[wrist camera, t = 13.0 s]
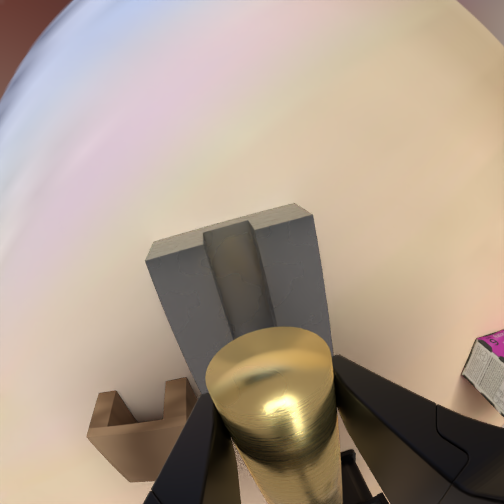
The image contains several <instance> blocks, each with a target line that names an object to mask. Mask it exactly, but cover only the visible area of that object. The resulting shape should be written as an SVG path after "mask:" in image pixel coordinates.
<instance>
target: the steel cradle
mask: <svg viewBox="0 0 504 504" xmlns="http://www.w3.org/2000/svg"><path fill="white" fill-rule="evenodd" d="M145 262H146V265H147V268H148V270H149V273H150V276H151V278H152V281H153V284H154V286H155V289H156V291H157V294H158V296H159V299H160V301H161V304H162V306H163V309H164V311H165V314H166V316H167V319H168V321H169V323H170V326H171V328H172V331H173V333H174V335H175V338H176V340H177V342H178V344H179V347H180V349H181V351H182V353H183V356H184V358H185V360H186V362H187V364H188V367H189V369H190V371H191V373H192V375H193V377H194V379H195V382H196V384H197V386H198V388H199V390H200V392H201V394H204V393H209V391H208V389H207V386H206V381H205V376H206V371H207V368H208V365H209V363H210V361H211V360H212V358H213V357H214V356H215V355H216V354H217V352H218V351H220V350H221V349H222V348H223V347H224V346H225V345H227V344H228V343H230V342H231V341H233V340H235V339H236V338H238V337H240V336H243V335H245V334H247V333H250V332H253V331H256V330H260V329H265V328H271V327H297V328H302V329H305V330H308V331H311V332H313V333H315V334H317V335H318V336H320V337H321V338H322V339H323V340H324V341H325V342H326V343H327V345H328V347H329V349H330V352H331V357H332V356H333V348H332V339H331V331H330V323H329V315H328V308H327V300H326V293H325V286H324V279H323V273H322V266H321V260H320V254H319V247H318V241H317V236H316V230H315V224H314V218H313V214H311V213H309V212H308V211H306V210H305V209H303V208H302V207H300V206H298V205H297V204H295V203H293V204H289V205H286V206H282V207H278V208H274V209H270V210H266V211H262V212H259V213H255V214H251V215H247V216H244V217H240V218H236V219H233V220H229V221H225V222H222V223H218V224H214V225H211V226H207V227H204V228H200V229H197V230H193V231H189V232H186V233H182V234H179V235H176V236H172V237H169V238H165V239H162V240H158V241H155V242H153V244H152V247H151V249H150V251H149V253H148V255H147V258H146V260H145Z"/></svg>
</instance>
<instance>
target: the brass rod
mask: <svg viewBox="0 0 504 504" xmlns="http://www.w3.org/2000/svg"><path fill="white" fill-rule="evenodd" d="M205 381H206V386H207V389H208V391H209V393H210V395H211V397H212V400H213V402H214V404H215V406H216V408H217V410H218V412H219V414H220V416H221V418H222V420H223V422H224V424H225V426H226V428H227V430H228V432H229V434H230V436H231V438H232V440H233V442H234V444H235V446H236V447H237V449H238V451H239V453H240V455H241V457H242V459H243V461H244V462H245V464H246V466H247V468H248V470H249V471H250V473H251V475H252V477H253V479H254V480H255V482H256V484H257V486H258V487H259V489H260V491H261V492H262V494H263V496H264V498H265V499H266V501H267V503H268V504H343V498H342V475H341V457H340V442H339V428H338V416H337V405H336V394H335V384H334V375H333V366H332V357H331V352H330V349H329V347H328V345H327V343H326V342H325V341H324V340H323V339H322V338H321V337H320V336H318V335H317V334H315V333H313V332H311V331H308V330H305V329H302V328H297V327H271V328H265V329H260V330H256V331H253V332H250V333H247V334H245V335H243V336H240V337H238V338H236V339H235V340H233V341H231V342H230V343H228V344H227V345H225V346H224V347H223V348H222V349H221V350H220V351H218V352H217V354H216V355H215V356H214V357H213V358H212V360H211V361H210V363H209V365H208V368H207V371H206V376H205Z"/></svg>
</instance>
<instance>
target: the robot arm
mask: <svg viewBox="0 0 504 504" xmlns="http://www.w3.org/2000/svg"><path fill="white" fill-rule="evenodd" d="M332 366H333V375H334V384H335V394H336V405H337V408H338V410H339V413H340V415H341V418H342V420H343V422H344V425H345V427H346V429H347V431H348V433H349V435H350V436H351V438H352V440H353V442H354V443H355V445H356V447H357V448H358V450H359V452H360V453H361V455H362V457H363V458H364V460H365V462H366V463H367V465H368V467H369V469H370V470H371V472H372V474H373V475H374V477H375V479H376V480H377V482H378V484H379V485H380V487H381V489H382V490H383V492H384V494H385V495H386V497H387V499H388V500H389V502H390V504H504V428H502V427H498V426H495V425H491V424H488V423H484V422H481V421H478V420H475V419H472V418H469V417H467V416H464V415H462V414H459V413H457V412H454V411H452V410H450V409H447V408H445V407H443V406H441V405H439V404H437V405H436V403H434V402H432V401H430V400H428V399H426V398H424V397H422V396H420V395H418V394H416V393H414V392H412V391H410V390H408V389H406V388H404V387H401V386H399V385H397V384H395V383H393V382H391V381H389V380H387V379H385V378H384V377H382V376H380V375H378V374H376V373H374V372H372V371H370V370H368V369H366V368H364V367H362V366H360V365H358V364H356V363H354V362H352V361H351V360H349V359H347V358H345V357H343V356H341V355H335V356H332ZM340 457H341V475H342V498H343V504H389V503H388V501H387V499H386V498H385V496H384V494H383V493H380V494H377V496H375V497H372V495H371V493H370V491H369V489H368V487H367V484H366V482H365V480H364V478H363V476H362V474H361V472H360V470H359V468H358V466H357V464H356V462H355V459H356V453H355V451H354V450H349V451H347V452H344V453H341V454H340ZM151 490H152V491H150V492H149V494H148V495H147V497H146V499H145V501H144V503H143V504H241V499H240V489H239V479H238V469H237V462H236V457H235V452H234V448H233V444H232V440H231V436H230V434H229V432H228V430H227V428H226V426H225V424H224V422H223V420H222V418H221V416H220V414H219V412H218V410H217V408H216V406H215V404H214V402H213V400H212V397H211V395H210V393H204V394H201V395H200V396H199V398H198V400H197V402H196V404H195V406H194V408H193V410H192V412H191V414H190V416H189V418H188V419H187V421H186V423H185V425H184V427H183V429H182V431H181V433H180V435H179V437H178V439H177V441H176V443H175V445H174V446H173V448H172V450H171V452H170V454H169V456H168V458H167V460H166V462H165V464H164V466H163V467H162V469H161V471H160V473H159V475H158V477H157V479H156V481H155V483H154V484H153V486H152V488H151Z"/></svg>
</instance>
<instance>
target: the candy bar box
mask: <svg viewBox="0 0 504 504" xmlns="http://www.w3.org/2000/svg"><path fill="white" fill-rule="evenodd" d="M462 375H463V376H464V377H465V378H466V379H467V380H468V381H469V382H470V383H471V384H472V385H473V386H474V387H475V388H476V389H477V390H478V391H479V392H480V393H481V394H482V395H483V396H484V397H485V398H486V399H487V400H488V401H489V402H490V404H491V405H493V407H494V408H495V409H496V410H497V411H498V412H499V413H500V414H501V415H502V416H503V417H504V330H501V331H499V332H495V333H492V334H489V335H486V336H483V337H480V338H477V339H476V341H475V343H474V345H473V347H472V350H471V353H470V355H469V358H468V360H467V363H466V365H465V367H464V369H463V372H462Z"/></svg>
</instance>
